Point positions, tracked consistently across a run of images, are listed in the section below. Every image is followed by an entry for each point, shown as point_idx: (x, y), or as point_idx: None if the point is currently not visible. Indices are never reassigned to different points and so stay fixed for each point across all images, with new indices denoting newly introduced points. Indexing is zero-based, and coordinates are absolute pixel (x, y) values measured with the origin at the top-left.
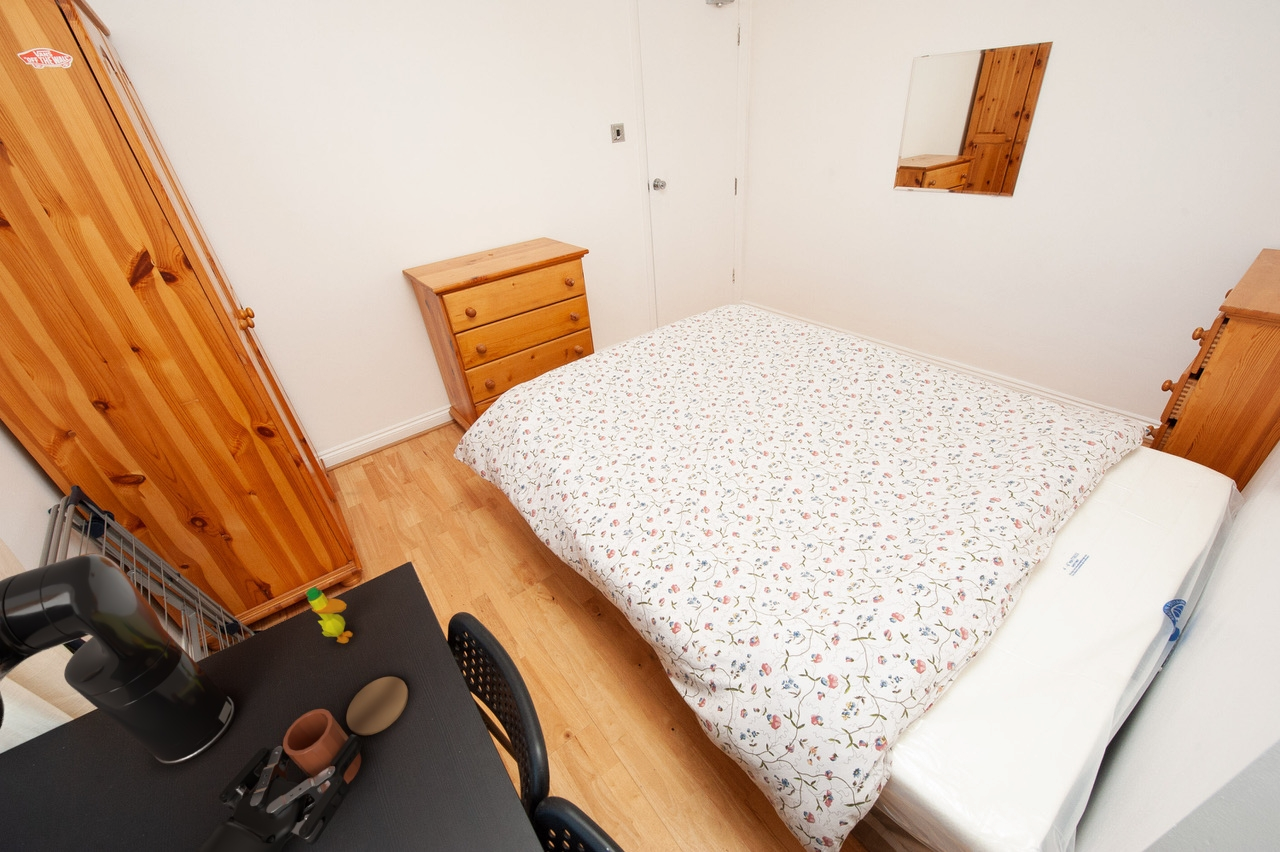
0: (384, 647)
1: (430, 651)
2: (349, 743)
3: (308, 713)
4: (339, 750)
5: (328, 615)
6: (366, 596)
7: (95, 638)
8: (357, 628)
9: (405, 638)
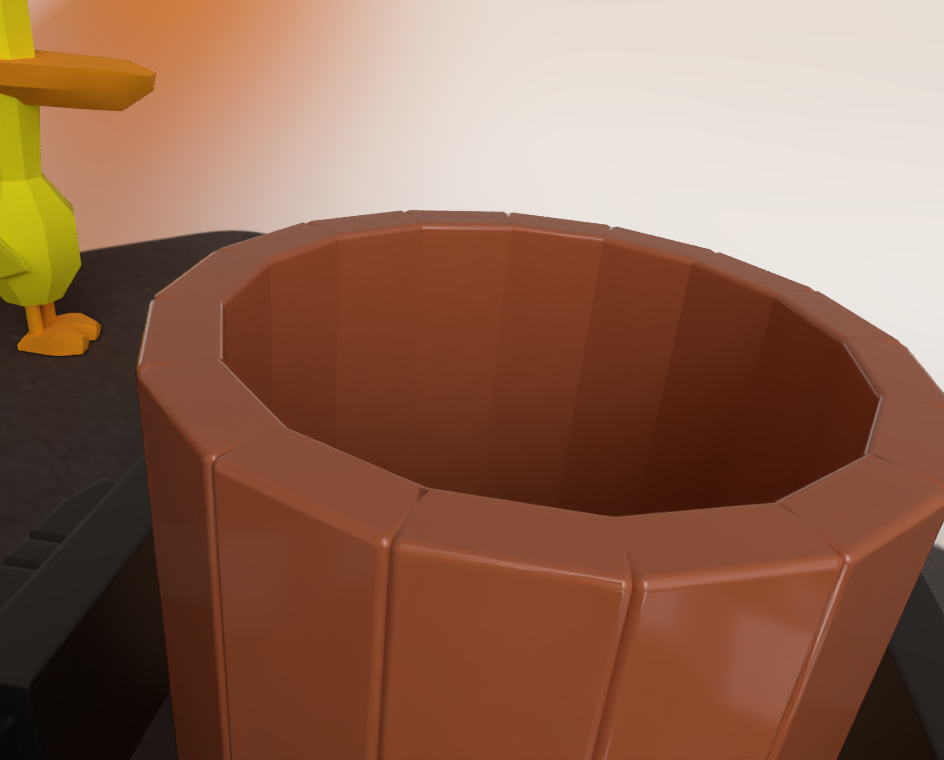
0: None
1: None
2: (937, 619)
3: (361, 224)
4: (917, 687)
5: (26, 135)
6: (107, 252)
7: None
8: (114, 321)
9: None
